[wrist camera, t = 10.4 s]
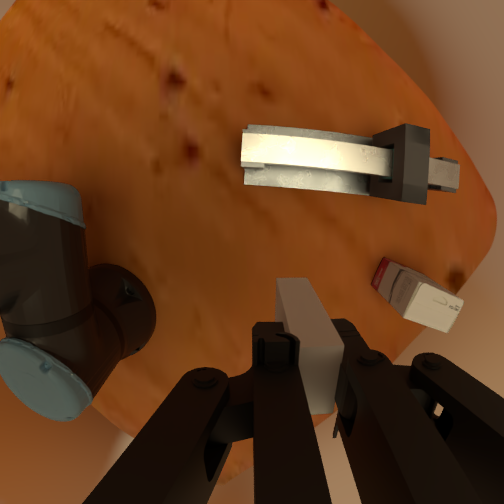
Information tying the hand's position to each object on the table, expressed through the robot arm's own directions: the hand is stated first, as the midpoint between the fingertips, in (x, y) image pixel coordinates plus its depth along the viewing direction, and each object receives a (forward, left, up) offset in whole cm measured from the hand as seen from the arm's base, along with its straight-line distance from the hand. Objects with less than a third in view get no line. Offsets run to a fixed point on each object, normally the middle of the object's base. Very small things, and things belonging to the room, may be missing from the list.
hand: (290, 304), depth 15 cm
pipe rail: (+9, +9, -28) cm, 30 cm away
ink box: (+20, -7, -28) cm, 35 cm away
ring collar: (+14, +9, -25) cm, 30 cm away
